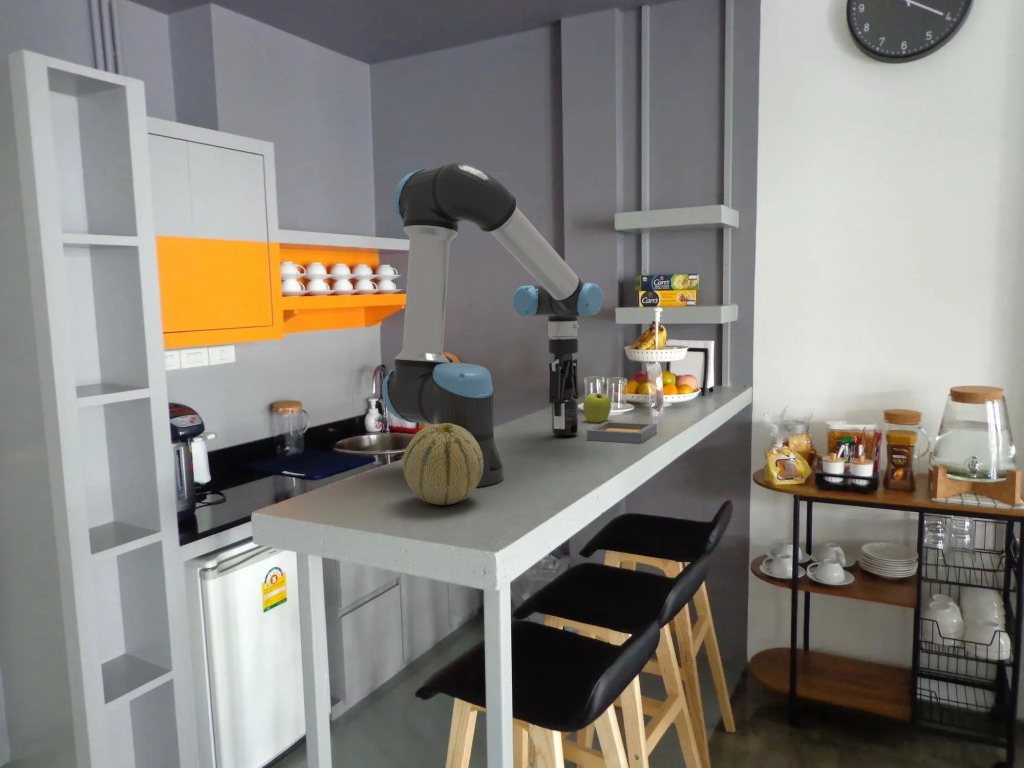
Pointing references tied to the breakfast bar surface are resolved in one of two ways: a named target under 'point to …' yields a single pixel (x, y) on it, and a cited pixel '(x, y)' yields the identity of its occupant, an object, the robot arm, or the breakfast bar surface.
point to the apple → (597, 407)
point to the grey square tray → (622, 432)
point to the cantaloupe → (443, 464)
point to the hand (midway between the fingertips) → (564, 426)
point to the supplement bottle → (567, 414)
